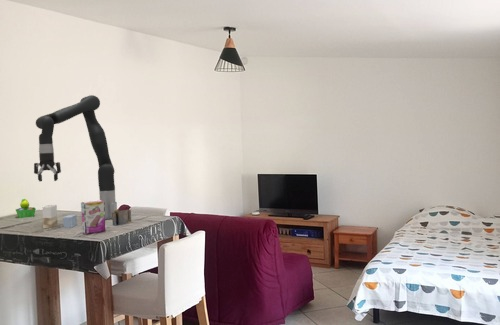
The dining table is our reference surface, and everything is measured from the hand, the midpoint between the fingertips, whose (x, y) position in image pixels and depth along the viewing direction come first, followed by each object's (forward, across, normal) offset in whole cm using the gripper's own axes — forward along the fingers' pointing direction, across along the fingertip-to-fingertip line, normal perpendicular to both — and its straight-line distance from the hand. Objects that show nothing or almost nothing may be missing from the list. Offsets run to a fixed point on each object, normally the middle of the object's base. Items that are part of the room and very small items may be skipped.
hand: (48, 181), depth 277 cm
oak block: (+26, 0, 0) cm, 26 cm away
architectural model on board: (+27, -39, -6) cm, 48 cm away
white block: (+20, 0, 0) cm, 20 cm away
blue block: (+26, -11, -1) cm, 28 cm away
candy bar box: (+26, -31, +17) cm, 44 cm away
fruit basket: (+26, +33, -38) cm, 57 cm away
